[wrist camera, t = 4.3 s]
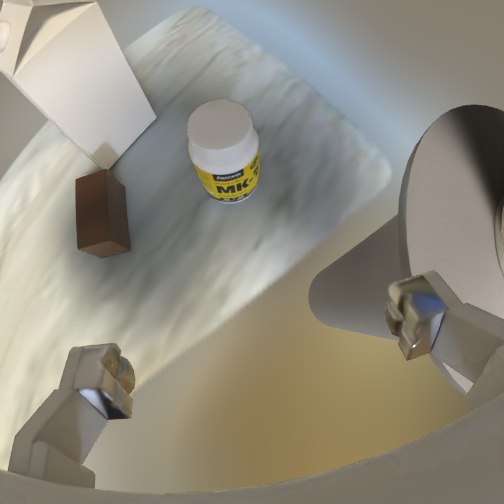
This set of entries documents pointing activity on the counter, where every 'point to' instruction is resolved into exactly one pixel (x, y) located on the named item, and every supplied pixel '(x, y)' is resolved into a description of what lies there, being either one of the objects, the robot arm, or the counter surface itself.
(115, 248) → the brown wooden block
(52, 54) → the milk carton
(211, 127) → the supplement bottle
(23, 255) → the counter surface
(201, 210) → the counter surface
